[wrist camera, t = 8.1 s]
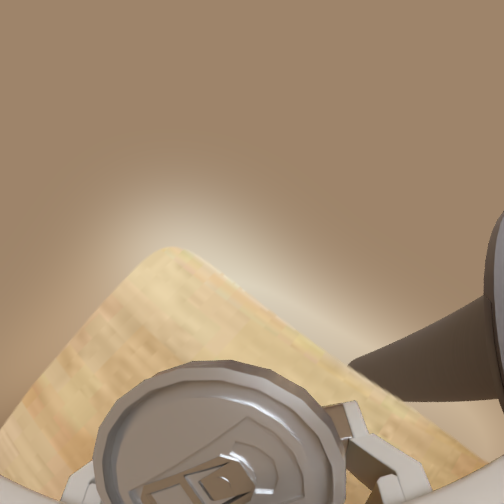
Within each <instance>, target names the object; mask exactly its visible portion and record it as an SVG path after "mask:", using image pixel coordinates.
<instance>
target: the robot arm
mask: <svg viewBox="0 0 504 504" xmlns="http://www.w3.org/2000/svg"><path fill="white" fill-rule="evenodd" d="M322 408H323V409H324V410H325V411H326V412H327V413H328V414H329V415H330V416H331V418H332V421H333V423H334V425H335V427H336V430H337V432H338V434H339V437H340V439H341V441H342V443H343V446H344V448H345V459H346V469H347V470H348V471H350V472H351V473H352V474H353V475H354V476H355V477H356V478H357V479H359V480H360V481H361V482H362V483H363V484H364V485H365V486H367V487H368V488H369V489H370V490H371V491H372V492H371V494H370V496H369V498H368V500H367V502H366V504H504V455H502V456H500V457H499V458H497V459H496V460H494V461H492V462H491V463H489V464H487V465H485V466H484V467H482V468H480V469H478V470H476V471H474V472H473V473H471V474H469V475H467V476H465V477H463V478H461V479H459V480H457V481H455V482H453V483H450V484H448V485H446V486H444V487H442V488H439V489H437V490H435V491H433V490H432V488H431V485H430V483H429V481H428V478H427V476H426V474H425V471H424V469H423V467H422V464H421V463H420V462H418V461H417V460H415V459H413V458H412V457H410V456H408V455H407V454H405V453H403V452H402V451H400V450H399V449H397V448H395V447H394V446H392V445H391V444H389V443H387V442H386V441H384V440H383V439H381V438H380V437H378V436H377V435H375V434H374V433H372V434H369V432H368V430H367V427H366V424H365V421H364V419H363V416H362V413H361V411H360V408H359V406H358V403H357V402H356V401H355V400H354V401H350V402H345V403H338V404H333V405H328V406H322ZM0 504H103V503H102V500H101V498H100V496H99V494H98V492H97V489H96V482H95V475H94V467H93V460H91V461H90V462H89V463H87V464H86V465H85V466H83V467H82V468H80V469H79V470H78V471H76V472H75V473H74V474H72V475H71V476H70V477H69V479H68V482H67V484H66V487H65V489H64V492H63V495H62V497H61V500H60V501H58V500H56V499H53V498H50V497H48V496H45V495H43V494H40V493H38V492H36V491H33V490H31V489H29V488H26V487H24V486H22V485H20V484H18V483H16V482H14V481H12V480H10V479H8V478H6V477H4V476H2V475H0Z"/></svg>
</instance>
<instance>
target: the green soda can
mask: <svg viewBox="0 0 504 504" xmlns="http://www.w3.org/2000/svg"><path fill="white" fill-rule="evenodd" d="M92 459H93V467H94V475H95V482H96V489H97V492H98V494H99V496H100V498H101V500H102V503H103V504H344V502H345V499H346V459H345V448H344V446H343V443H342V441H341V439H340V437H339V434H338V432H337V430H336V427H335V425H334V423H333V421H332V418H331V416H330V415H329V414H328V413H327V412H326V411H325V410H324V409H323V408H322V407H321V406H320V405H319V404H318V403H317V402H316V401H315V400H314V398H313V397H312V396H311V395H310V394H309V393H308V392H307V391H306V390H305V389H304V388H302V387H300V386H298V385H297V384H295V383H293V382H291V381H289V380H288V379H286V378H284V377H282V376H281V375H279V374H277V373H275V372H274V371H272V370H270V369H266V368H262V367H258V366H253V365H249V364H245V363H241V362H237V361H234V360H217V361H192V362H189V363H186V364H183V365H180V366H177V367H174V368H171V369H168V370H165V371H162V372H159V373H157V374H156V375H154V376H153V377H152V378H149V379H146V380H144V381H142V382H141V383H140V384H138V385H137V386H136V387H134V388H133V389H132V390H130V391H129V392H128V393H126V394H125V395H123V396H122V397H121V398H119V399H118V400H117V401H116V402H115V404H114V405H113V407H112V408H111V410H110V411H109V413H108V414H107V416H106V417H105V419H104V421H103V422H102V424H101V425H100V427H99V430H98V434H97V439H96V443H95V448H94V453H93V457H92Z"/></svg>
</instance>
